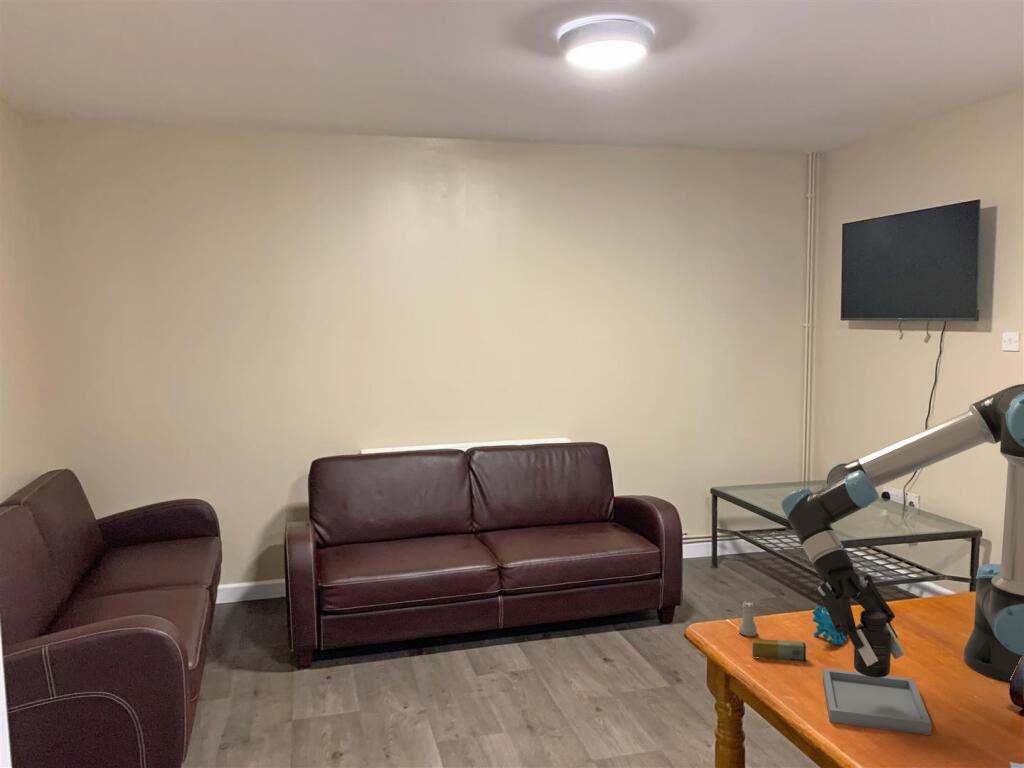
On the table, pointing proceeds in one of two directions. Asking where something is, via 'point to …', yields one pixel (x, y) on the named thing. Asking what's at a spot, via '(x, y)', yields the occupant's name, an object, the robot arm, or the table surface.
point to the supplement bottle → (874, 644)
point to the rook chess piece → (748, 620)
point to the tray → (875, 702)
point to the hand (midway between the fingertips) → (886, 659)
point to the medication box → (779, 650)
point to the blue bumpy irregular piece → (827, 626)
